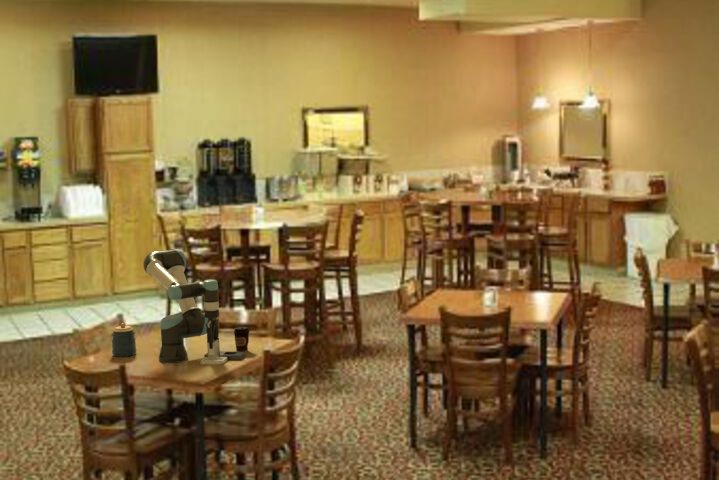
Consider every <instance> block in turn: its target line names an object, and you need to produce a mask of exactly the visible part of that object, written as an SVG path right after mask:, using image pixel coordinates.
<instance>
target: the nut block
mask: <svg viewBox="0 0 719 480" xmlns="http://www.w3.org/2000/svg"><path fill="white" fill-rule="evenodd" d="M213 341H214V349H215V355H209V343H207V342H206V346H207V353H208V360H218V359H219V358H220V351H221V350H220V348H221V347H220V345H221V344H220V338H219V339H214V340H213Z"/></svg>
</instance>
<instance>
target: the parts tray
mask: <svg viewBox="0 0 719 480" xmlns="http://www.w3.org/2000/svg"><path fill="white" fill-rule="evenodd" d="M228 361H229V360H228V359H227V357H220V358H219V359H218V360H208V357H205V358H204V357H202V358H201V359H200V361H199V363H200V364H199V365H224V364H225V363H226V362H228Z"/></svg>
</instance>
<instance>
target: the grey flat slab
mask: <svg viewBox="0 0 719 480" xmlns="http://www.w3.org/2000/svg"><path fill="white" fill-rule="evenodd" d="M203 356H204V357H203V358H205V357H208V352H206V353H204V354H203ZM220 357H227V359H228V360H227V361H242V360H243V359H244V358H245V357H246V352H244V351H235V350H234V351H232V350H231V351H228V350H226V351H224V350H223V351H222V350H220Z"/></svg>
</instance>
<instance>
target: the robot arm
mask: <svg viewBox="0 0 719 480" xmlns="http://www.w3.org/2000/svg"><path fill="white" fill-rule="evenodd" d="M185 255H186V254H185V253H184V252H183V251H182V250H181V249H178V248H177V249H174V248H173V249H167V250H158V251H156V250H155V251H152V252H149V253H148V254H147V255H146V256H145V258H144V260H143V263H142V264H143V265H142V266H143V270H144V271H145V273H146V274H147V275H148V276H149V277H153V278H154V279H155V280H156V281H157V282H158V283H160V285H162V286H163V287H164V288H165V289H166V290H167V296H168V298H169V299H170V300H171V301H175V300H176V301H177V303H178V306H179V309H180V311H181V314H179V313H178V314H177V313H176V314H175V313H174V314H169V315H167V316H164V317H162V319H161V320H160V338H161V346H160V351H159V354H158V361H159V362H162V363H179V362H185V361H186V360H188V358H189V355H188V352H187V351H188V350H187V349H186V347H185V341H184V339H189V338H194V337H202V336H204V335H205V336H206V344H207V343H209V355H215V349H214V341H213V340H214V339H219V340H220V337H219V334H220V333H219V319H218V318H219V317H220V309H219V308H220V307H219V306H220V303H219V284H218V283H219V282H218V280H216V279H205V280H203V281H202V280H201V281H199V280H197V281H194V282H191V283H189V282H188V281H187V278H186V275H185V273H184V272H185V270H186V267H187V258H186V256H185ZM198 297H203V309H204V312H202V309H201V308H200V307H197V303H196V301H195V298H198Z"/></svg>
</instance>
